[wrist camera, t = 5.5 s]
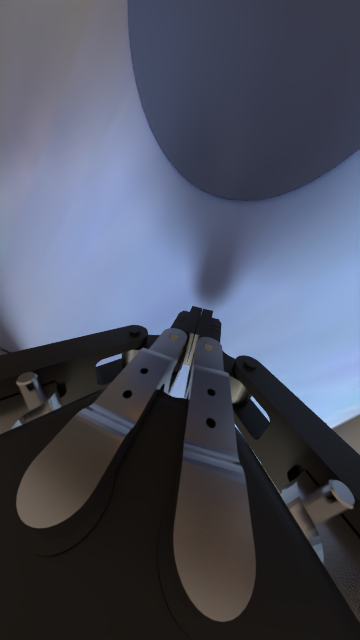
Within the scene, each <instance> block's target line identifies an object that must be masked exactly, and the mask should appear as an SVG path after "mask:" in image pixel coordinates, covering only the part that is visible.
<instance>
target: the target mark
mask: <svg viewBox="0 0 360 640" xmlns="http://www.w3.org/2000/svg"><path fill="white" fill-rule="evenodd" d="M128 28H129V39H130V48H131V58H132V64H133V69H134V75H135V80H136V85H137V89H138V93H139V96H140V100H141V104H142V107H143V110H144V113H145V116H146V118H147V121H148V124H149V126H150V129H151V131H152V133H153V135H154V137H155V139H156V141H157V143H158V145H159V146H160V148H161V149H162V151H163V152H164V154H165V155H166V157H167V158H168V160H169V161H170V162H171V163H172V165H173V166H174V167H175V168H176V169H177V170H178V172H179V173H180V174H181V175H183V176H184V177H185V178H186V179H187V180H188V181H190V182H191V183H192V184H194V185H195V186H197V187H198V188H200V189H202V190H203V191H206V192H208V193H210V194H213V195H215V196H218V197H223V198H227V199H232V200H257V199H264V198H269V197H273V196H278V195H281V194H283V193H286V192H289V191H292V190H294V189H297V188H299V187H301V186H303V185H305V184H307V183H309V182H311V181H313V180H315V179H317V178H318V177H320V176H322V175H323V174H325V173H326V172H328V171H330V170H331V169H333V168H334V167H336V166H337V165H339V164H340V163H341V162H343V161H344V160H345V159H347V158H348V157H349V156H351V155H352V154H353V153H355V152H356V151H357V150H358V149H360V0H128Z"/></svg>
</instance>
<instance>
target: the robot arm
mask: <svg viewBox="0 0 360 640" xmlns="http://www.w3.org/2000/svg"><path fill="white" fill-rule="evenodd" d="M201 312H202V314H201ZM212 314H213V311H211V310H207V309H203V311H202V308H198V307H194V306H192V308H191V311H190V312H188V311H182V312H180V313H179V314H178V316H177V318H176V320H175V321H174V323H173V325H172V326H171V328H169V329H166V330H164V331H163V332H162V334H161V335H148V331H147V329H146V328H144V327H142V326H139V325H130V326H126V327H121V328H117V329H113V330H108V331H104V332H99V333H95V334H91V335H86V336H82V337H78V338H73V339H69V340H65V341H60V342H56V343H52V344H47V345H43V346H38V347H34V348H30V349H25V350H21V351H17V352H12V353H7V352H4V351H2V350H0V640H360V455H359V454H358V453H357V452H356V451H355V450H354V449H353V448H351V447H350V446H349V445H348V444H347V443H346V442H345V441H344V440H343V439H342V438H341V437H340V436H339V435H337V434H336V433H335V432H334V431H333V430H332V429H331V428H330V427H329V426H328V425H327V424H326V423H325V422H323V421H322V420H321V419H320V418H319V417H318V416H317V415H316V414H315V413H314V412H313V411H312V410H311V409H309V408H308V407H307V406H306V405H305V404H304V403H303V402H302V401H301V400H300V399H299V398H298V397H296V396H295V395H294V394H293V393H292V392H291V391H290V390H289V389H288V388H287V387H286V386H285V385H284V384H282V383H281V382H280V381H279V380H278V379H277V378H276V377H275V376H274V375H273V374H272V373H271V372H270V371H268V370H267V369H266V368H265V367H264V366H263V365H262V364H261V363H260V362H259V361H257V360H256V359H254V358H252V357H249V356H238V357H237V358H236V359H234V358H232V357H230V356H228V355H227V354H226V353H224V352H223V351H222V346H221V344H220V337H221V322H220V321H219V319H215V318H212ZM200 316H201V317H200ZM190 352H191V353H190ZM121 353H122V358H121V359H118V360H115V361H112V362H109V363H107V364H104V365H101V366H98V367H95V366H96V364H97V363H98V362H99V361H100V360H102V359H105V358H108V357H111V356H114V355H118V354H121ZM189 355H190V357H189ZM188 358H189V361H188ZM187 362H188V366H190V370H189V374H188V378H187V383H186V389H185V395H184V398H175V397H172V396H170V393H171V391H172V389H173V386H174V384H175V382H176V380H177V378H178V375H179V373H180V370H181V368H182V365H183V364H185V365H187ZM251 396H253V397H254V398H255V400H256V401H257V402H258V403H259V404H260V406H261V407H262V408H263V409H264V410H265V411H266V413H267V414H268V416H269V419H270V422H269V421H268V420H267V418H266V417H265V416H264V415H263V414H262V412H261V411H260V410H259V409H258V408H257V406H256V405H255V404H254V403H253V401H252V400H251V399H250V398H251ZM234 423H235V424H236V426H237V427H238V429H239V430H240V432H241V433H242V434H241V433H240V432H239V430H238V429H237V428H236V427H235V424H234ZM250 447H251V448H250ZM252 450H253V451H252ZM254 453H255V454H254ZM255 455H256V456H257V457H256V456H255ZM257 458H258V459H259V460H258V459H257ZM259 461H260V462H261V464H262V465H263V467H264V468H265V470H266V471H267V473H268V474H269V476H270V477H271V479H272V481H273V482H274V483H275V485H276V487H277V488H278V490H279V491H280V493H281V494H282V496H280V494H279V492H278V491H277V489H276V488H275V486H274V484H273V483H272V481H271V480H270V478H269V477H268V475H267V473H266V472H265V470H264V469H263V467H262V465H261V464H260V462H259Z"/></svg>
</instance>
